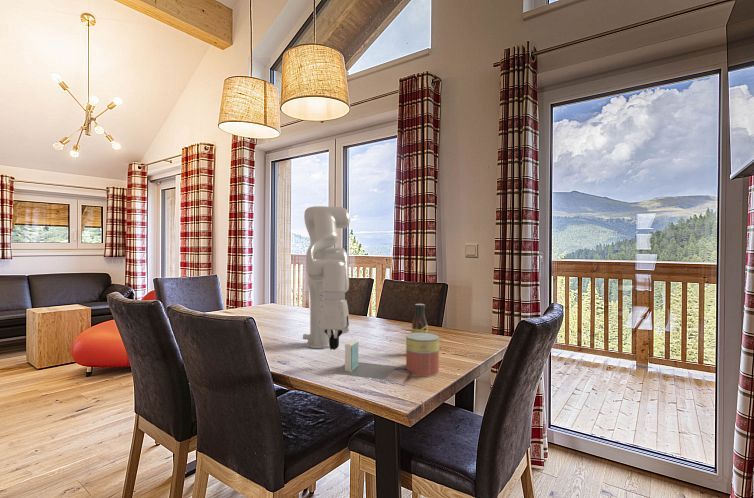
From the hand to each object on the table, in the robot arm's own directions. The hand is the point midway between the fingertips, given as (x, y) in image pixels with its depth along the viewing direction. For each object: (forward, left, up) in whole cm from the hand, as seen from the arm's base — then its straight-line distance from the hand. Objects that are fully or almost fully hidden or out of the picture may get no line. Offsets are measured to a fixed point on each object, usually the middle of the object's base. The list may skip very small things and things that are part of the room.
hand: (334, 348), depth 133 cm
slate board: (+12, 0, -7) cm, 14 cm away
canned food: (+30, +8, -7) cm, 32 cm away
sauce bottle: (+25, +27, -7) cm, 37 cm away
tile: (+7, 0, -6) cm, 9 cm away
